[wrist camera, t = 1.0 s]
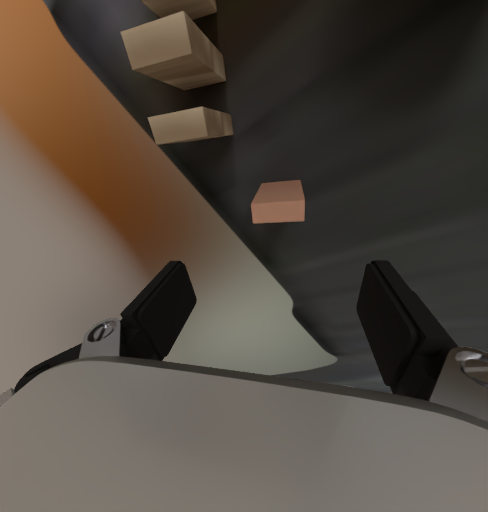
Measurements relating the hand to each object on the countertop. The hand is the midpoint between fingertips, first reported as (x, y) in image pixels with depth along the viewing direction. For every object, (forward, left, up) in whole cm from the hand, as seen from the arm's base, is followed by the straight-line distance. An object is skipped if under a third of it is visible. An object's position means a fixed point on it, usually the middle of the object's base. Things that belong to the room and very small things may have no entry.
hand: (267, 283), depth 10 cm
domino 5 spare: (0, 0, -19) cm, 19 cm away
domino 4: (-8, -8, -19) cm, 22 cm away
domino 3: (-13, -8, -19) cm, 25 cm away
